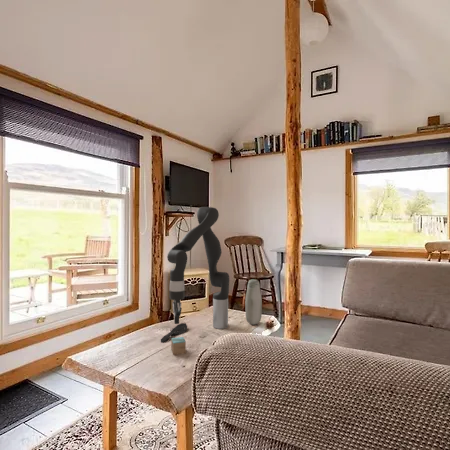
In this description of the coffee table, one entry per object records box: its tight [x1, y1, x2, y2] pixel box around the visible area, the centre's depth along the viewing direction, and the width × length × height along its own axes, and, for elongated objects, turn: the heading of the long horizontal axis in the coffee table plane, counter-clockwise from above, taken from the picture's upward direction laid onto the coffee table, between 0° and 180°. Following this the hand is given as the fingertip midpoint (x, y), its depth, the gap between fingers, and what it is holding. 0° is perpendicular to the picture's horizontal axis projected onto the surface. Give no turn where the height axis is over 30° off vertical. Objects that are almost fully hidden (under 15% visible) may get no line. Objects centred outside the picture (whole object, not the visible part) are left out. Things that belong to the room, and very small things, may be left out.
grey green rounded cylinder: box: [244, 278, 263, 326], centre depth 199 cm, size 10×10×28 cm
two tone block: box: [170, 336, 187, 356], centre depth 156 cm, size 6×6×6 cm
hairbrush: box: [160, 321, 188, 344], centre depth 179 cm, size 8×4×25 cm
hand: (176, 323), depth 161 cm, fingers closed
